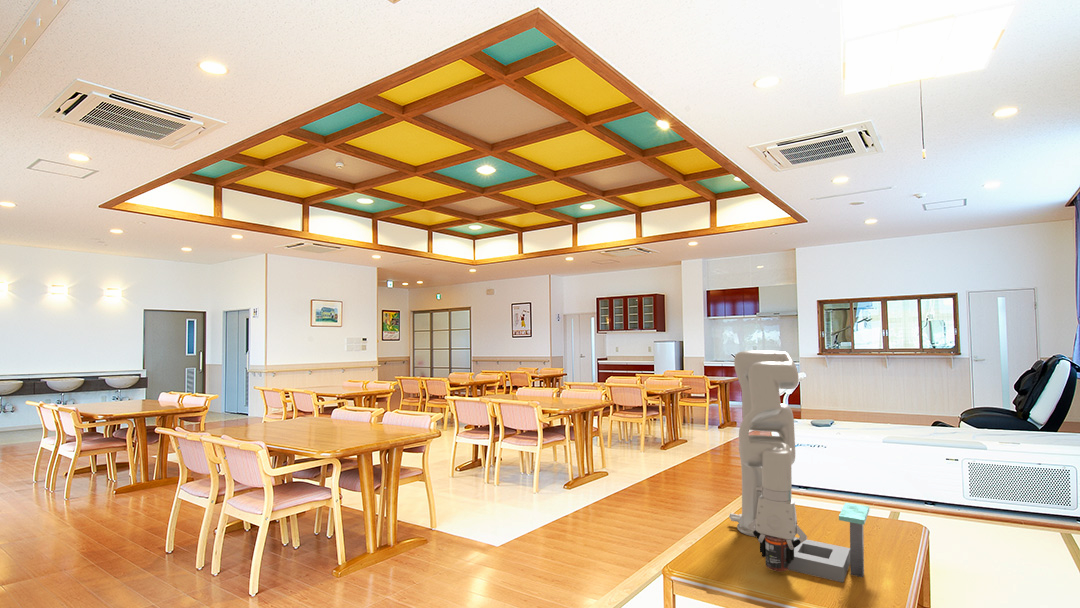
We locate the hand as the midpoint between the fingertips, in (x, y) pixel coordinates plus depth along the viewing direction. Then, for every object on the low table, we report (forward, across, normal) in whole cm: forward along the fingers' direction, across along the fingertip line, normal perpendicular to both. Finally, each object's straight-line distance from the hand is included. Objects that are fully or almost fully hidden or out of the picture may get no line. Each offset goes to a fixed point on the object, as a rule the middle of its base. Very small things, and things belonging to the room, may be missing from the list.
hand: (776, 558), depth 158 cm
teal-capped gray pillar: (+4, +18, +12) cm, 22 cm away
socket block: (+4, +8, +12) cm, 15 cm away
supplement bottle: (+3, 0, 0) cm, 3 cm away
